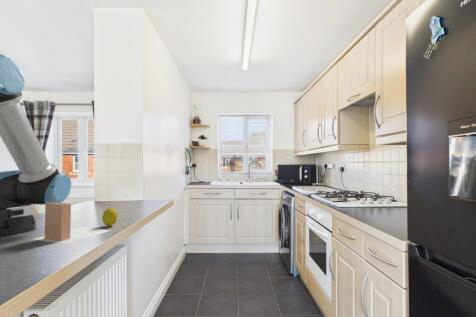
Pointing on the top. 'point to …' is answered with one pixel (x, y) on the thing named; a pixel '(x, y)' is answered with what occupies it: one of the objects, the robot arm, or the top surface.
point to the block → (57, 221)
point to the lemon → (109, 217)
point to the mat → (76, 235)
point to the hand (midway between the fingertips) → (32, 209)
